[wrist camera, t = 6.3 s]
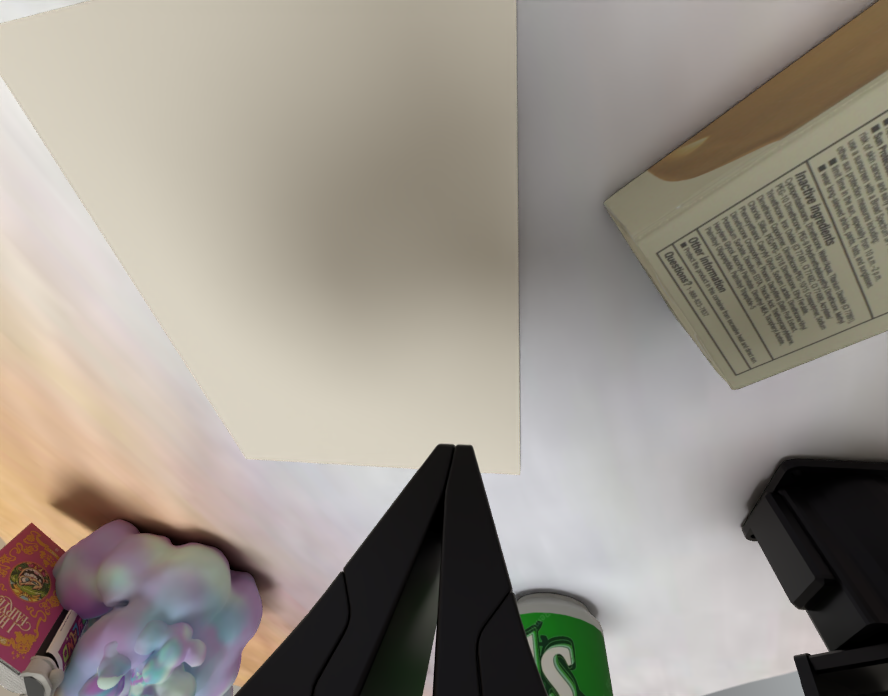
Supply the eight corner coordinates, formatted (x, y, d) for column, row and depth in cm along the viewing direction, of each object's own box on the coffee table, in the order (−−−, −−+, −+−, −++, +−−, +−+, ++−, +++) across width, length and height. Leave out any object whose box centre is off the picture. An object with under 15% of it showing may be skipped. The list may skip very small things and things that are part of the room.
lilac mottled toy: (274, 676, 40) (127, 953, 23) (90, 642, 41) (-190, 883, 24) (294, 501, 39) (153, 651, 21) (102, 470, 40) (-187, 589, 22)
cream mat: (515, -103, 9) (515, -108, 9) (520, 470, 21) (520, 474, 21) (-18, 32, 13) (-29, 30, 12) (248, 455, 25) (246, 459, 24)
